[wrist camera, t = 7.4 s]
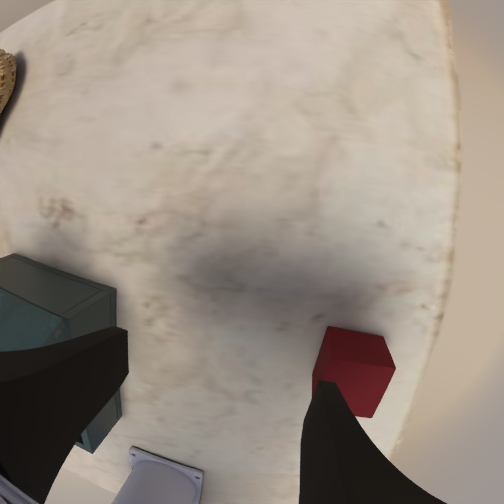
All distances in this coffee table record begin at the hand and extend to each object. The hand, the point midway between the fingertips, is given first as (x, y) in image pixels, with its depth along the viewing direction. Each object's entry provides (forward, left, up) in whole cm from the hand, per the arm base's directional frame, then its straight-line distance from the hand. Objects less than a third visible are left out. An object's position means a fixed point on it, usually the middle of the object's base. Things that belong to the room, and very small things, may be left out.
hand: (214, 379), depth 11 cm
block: (-3, -7, -10) cm, 13 cm away
